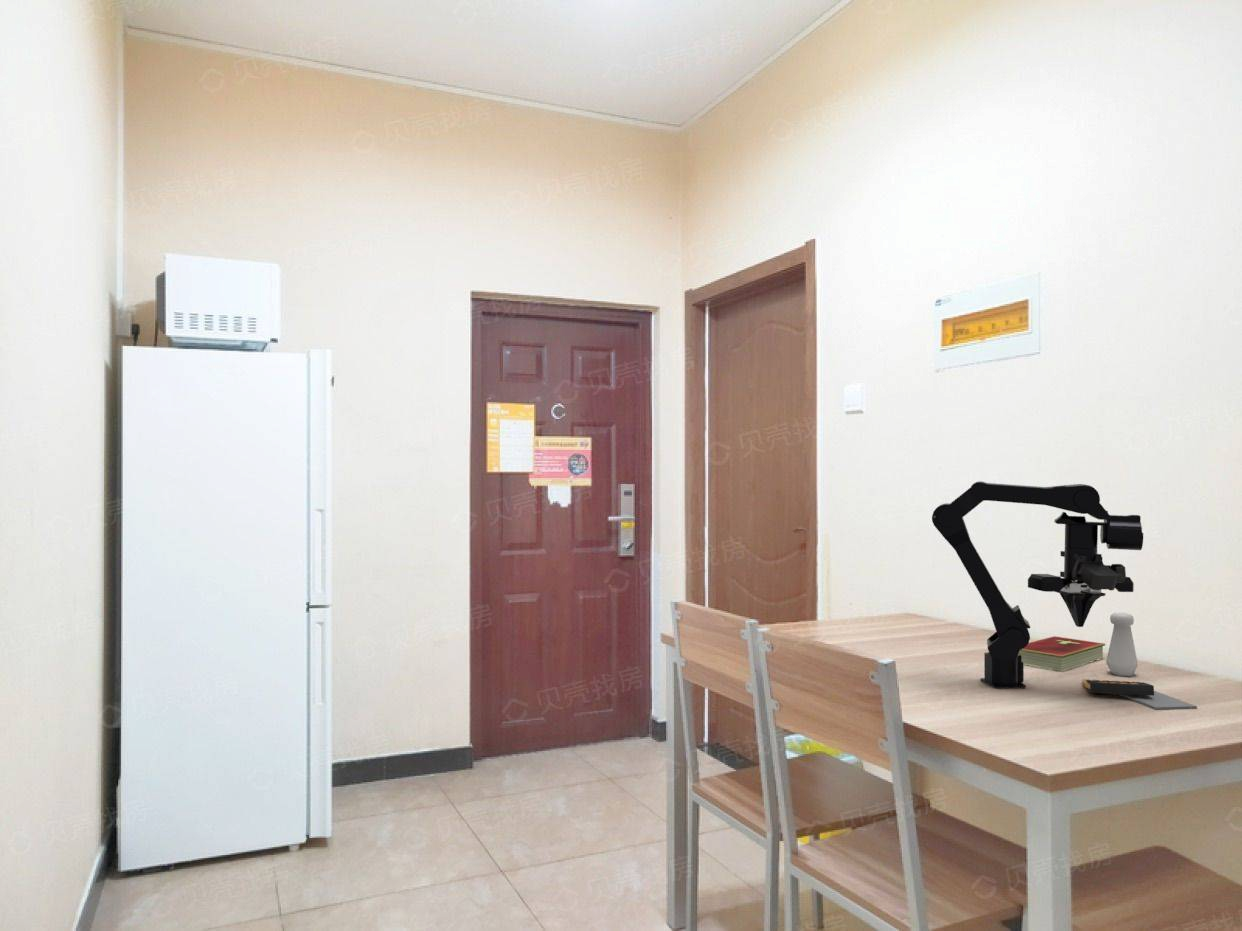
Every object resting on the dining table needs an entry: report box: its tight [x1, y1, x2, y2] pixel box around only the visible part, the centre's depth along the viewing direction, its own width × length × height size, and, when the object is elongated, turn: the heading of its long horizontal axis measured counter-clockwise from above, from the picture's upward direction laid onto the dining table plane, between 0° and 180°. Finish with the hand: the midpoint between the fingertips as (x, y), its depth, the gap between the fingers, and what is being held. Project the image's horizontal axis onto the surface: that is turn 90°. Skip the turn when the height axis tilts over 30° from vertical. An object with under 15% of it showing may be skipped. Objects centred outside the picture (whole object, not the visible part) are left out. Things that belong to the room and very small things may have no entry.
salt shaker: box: [1105, 612, 1139, 677], centre depth 183 cm, size 6×6×13 cm
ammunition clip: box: [1081, 678, 1155, 696], centre depth 169 cm, size 11×2×12 cm
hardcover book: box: [1018, 635, 1106, 672], centre depth 196 cm, size 12×21×4 cm, turn 128°
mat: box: [1116, 690, 1198, 711], centre depth 163 cm, size 8×12×1 cm, turn 5°
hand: (1079, 626), depth 169 cm, fingers closed
